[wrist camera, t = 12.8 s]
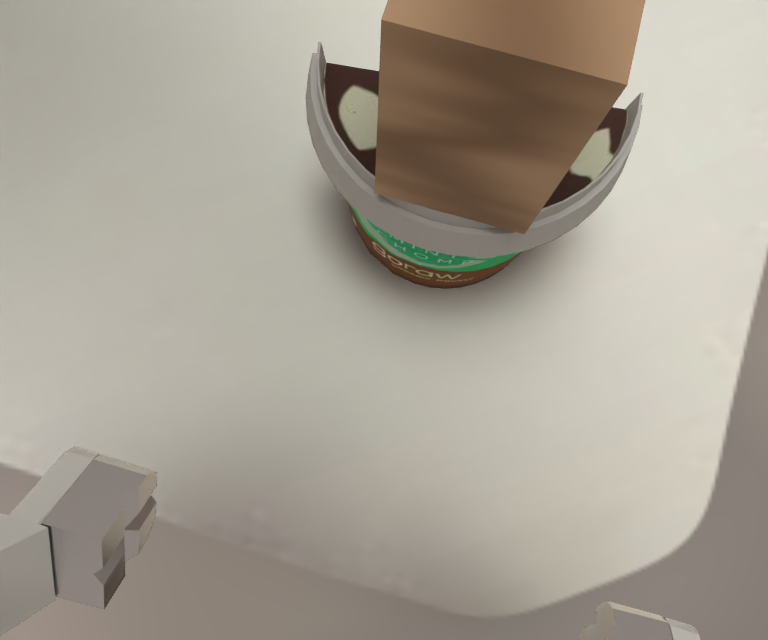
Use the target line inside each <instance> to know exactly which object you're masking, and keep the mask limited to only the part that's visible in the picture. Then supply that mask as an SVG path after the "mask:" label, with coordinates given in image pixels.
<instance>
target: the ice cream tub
mask: <svg viewBox="0 0 768 640" xmlns="http://www.w3.org/2000/svg"><path fill="white" fill-rule="evenodd" d="M378 93H379V71H374V70H367V69H361V68H355V67H349V66H343V65H337V64H331V63H326V60H325V56H324V52H323V48H322V45H321V42H318V53H313V54H312V59H311V64H310V69H309V74H308V82H307V91H306V109H307V122H308V126H309V131H310V135H311V139H312V143H313V146H314V149H315V151H316V153H317V156H318V158H319V160H320V163H321V165H322V167H323V169H324V170H325V172H326V174H327V175H328V177H329V178H330V180H331V181H332V183H333V184H334V186H335V188H336V189H337V190H338V191H339V192H340V193H341V195H342V196H343V197H344V198H345V199H346V200H347V201H348V203H349V207H350V210H351V214H352V217H353V221H354V224H355V227H356V230H357V231H358V233H359V235H360V236H361V238H362V240H363V241H364V243H365V245H366V246H367V248H368V250H369V251H370V253H371V254H372V255H373V256H374V257H375V258H376V259H377V260H379V261H380V262H381V263H382V264H383V265H384V266H385V267H387V268H388V269H389V270H390V271H391V272H392V273H393V274H395V275H398V276H400V277H402V278H404V279H406V280H409V281H411V282H413V283H415V284H419V285H423V286H427V287H434V288H457V287H464V286H468V285H472V284H476V283H478V282H480V281H483V280H485V279H488V278H490V277H491V276H493V275H494V274H496V273H498V272H499V271H501V270H502V269H503V268H504V267H505V266H507V265H508V264H509V263H510V262H511V261H512V260H513V259H514V258H516V257H517V256H518V255H519V254H520V253H521V252H522V251H526V250H530V249H533V248H535V247H538V246H540V245H543V244H545V243H548V242H550V241H553V240H555V239H557V238H558V237H560V236H562V235H563V234H565V233H566V232H568V231H570V230H571V229H573V228H575V227H576V226H578V225H579V224H580V223H581V222H582V221H583V220H585V219H586V218H587V217H588V216H589V215H590V214H591V213H593V212H594V211H595V210H596V209H597V208H598V206H599V205H600V204H601V203H602V201H603V200H604V199H605V198H606V197H607V195H608V194H609V193H610V192H611V190H612V188H613V187H614V185H615V183H616V181H617V179H618V178H619V176H620V174H621V172H622V170H623V168H624V165H625V163H626V160H627V158H628V155H629V153H630V151H631V148H632V145H633V142H634V139H635V136H636V134H637V131H638V128H639V123H640V117H641V111H642V105H641V103H642V97H643V93H640V94H639V95H638V96H637V97H636V98H635V99H634V100H633V102H632V103H631V104H630V105H629V106H628V107H627V108H626V109H625V110H624V109H619V108H613V107H612V108H611V109H610V111H609V112H608V113H607V115H606V116H605V118H604V119H603V121H602V122H601V124H600V125H599V127H598V128H597V129H596V131H595V132H594V134H593V135H592V137H591V138H590V140H589V141H588V143H587V144H586V145H585V147H584V148H583V150H582V151H581V153H580V154H579V156H578V157H577V159H576V160H575V162H574V163H573V164H572V166H571V167H570V169H569V170H568V172H567V173H566V175H565V176H564V178H563V179H562V180H561V182H560V183H559V185H558V186H557V188H556V189H555V191H554V192H553V194H552V195H551V196H550V198H549V199H548V201H547V202H546V204H545V205H544V207H543V208H542V210H541V211H540V213H539V214H538V215H537V217H536V218H535V220H534V221H533V223H532V224H531V226H530V227H529V229H528V230H527V231H526V233H525V234H521V233H517V232H513V231H510V230H506V229H502V228H499V227H495V226H492V225H488V224H484V223H481V222H477V221H473V220H470V219H466V218H462V217H459V216H455V215H452V214H448V213H444V212H441V211H437V210H433V209H430V208H426V207H423V206H419V205H415V204H412V203H408V202H404V201H401V200H397V199H394V198H390V197H386V196H383V195H379V194H375V193H374V192H375V167H376V142H377V118H378Z"/></svg>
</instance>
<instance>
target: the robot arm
mask: <svg viewBox="0 0 768 640" xmlns="http://www.w3.org/2000/svg"><path fill="white" fill-rule="evenodd" d="M156 486H157V472H154V471H151V470H148V469H145V468H142V467H139V466H136V465H132V464H129V463H126V462H123V461H120V460H117V459H114V458H110V457H107V456H104V455H101V454H97V453H94V452H91V451H88V450H84V449H81V448H78V447H73V448H71V449H70V450H68V451H66V452H65V453H64V454H63V455H62V456H61V457H60V458H59V459H58V461H57V462H56V463H55V464H54V465H53V466H52V467H51V468H50V469H49V471H48V472H47V473H46V474H45V475H44V476H43V477H42V478H41V480H40V481H39V482H38V483H37V484H36V485H35V486H34V488H33V489H32V490H31V491H30V492H29V493H28V494H27V495H26V496H25V498H24V499H23V500H22V501H21V502H20V503H19V504H18V505H17V506H16V508H15V509H14V510H13V511H12V512H11V513H10V514H9V515H6V514H2V513H0V636H1V635H3V634H5V633H6V632H8V631H9V630H11V629H12V628H14V627H15V626H17V625H18V624H20V623H21V622H23V621H24V620H26V619H27V618H29V617H30V616H31V615H33V614H35V613H36V612H38V611H39V610H41V609H42V608H44V607H45V606H47V605H48V604H50V603H51V602H53V601H54V600H55V599H56V597H60V598H63V599H67V600H71V601H75V602H79V603H83V604H86V605H90V606H94V607H98V608H101V609H105V607H106V606H107V604H108V602H109V601H110V599H111V598H112V596H113V594H114V593H115V591H116V590H117V588H118V586H119V585H120V583H121V582H122V580H123V578H124V577H125V561H127V560H128V559H130V558H132V557H134V556H136V555H138V554H139V552H140V550H141V549H142V547H143V545H144V544H145V542H146V540H147V538H148V535H149V533H150V531H151V528H152V526H153V523H154V518H155V514H156V501H155V500H154V499H153V497H152V496H151V494H152V492H153V491H154V489H155V488H156ZM55 596H56V597H55ZM595 619H596V623H594V624H591V625H589V626H586V627H584V629H583V631H582V632H581V634H580V636H579V637H578V640H700V637H699V634H698V632H697V630H696V629H695V628H694V626H692V625H689V624H685V623H682V622H679V621H675V620H672V619H668V618H665V617H661V616H660V615H657V614H653V613H649V612H646V611H642V610H638V609H635V608H631V607H627V606H624V605H620V604H616V603H613V602H609V601H605V602H603V603H601V604H600V605H599V607H598V608H597V610H596V611H595Z"/></svg>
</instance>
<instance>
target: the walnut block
mask: <svg viewBox="0 0 768 640" xmlns="http://www.w3.org/2000/svg"><path fill="white" fill-rule="evenodd" d="M644 4H645V0H388V2H387V5H386V8H385V11H384V14H383V17H382V20H381V44H380V69H379V93H378V118H377V142H376V167H375V192H374V193H375V194H379V195H383V196H386V197H390V198H394V199H397V200H401V201H404V202H408V203H412V204H415V205H419V206H423V207H426V208H430V209H433V210H437V211H441V212H444V213H448V214H452V215H455V216H459V217H462V218H466V219H470V220H473V221H477V222H481V223H484V224H488V225H492V226H495V227H499V228H502V229H506V230H510V231H513V232H517V233H521V234H525V233H526V231H527V230H528V229H529V227H530V226H531V224H532V223H533V221H534V220H535V218H536V217H537V215H538V214H539V213H540V211H541V210H542V208H543V207H544V205H545V204H546V202H547V201H548V199H549V198H550V196H551V195H552V194H553V192H554V191H555V189H556V188H557V186H558V185H559V183H560V182H561V180H562V179H563V178H564V176H565V175H566V173H567V172H568V170H569V169H570V167H571V166H572V164H573V163H574V162H575V160H576V159H577V157H578V156H579V154H580V153H581V151H582V150H583V148H584V147H585V145H586V144H587V143H588V141H589V140H590V138H591V137H592V135H593V134H594V132H595V131H596V129H597V128H598V127H599V125H600V124H601V122H602V121H603V119H604V118H605V116H606V115H607V113H608V112H609V111H610V109H611V108H612V106H613V105H614V103H615V102H616V100H617V99H618V97H619V96H620V95H621V93H622V92H623V90H624V89H625V87H626V86H627V83H628V78H629V74H630V69H631V64H632V60H633V55H634V50H635V46H636V41H637V36H638V32H639V27H640V22H641V18H642V13H643V8H644Z"/></svg>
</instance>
